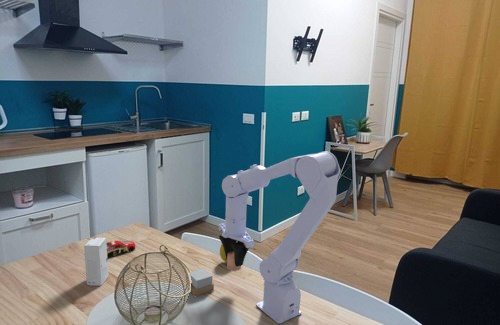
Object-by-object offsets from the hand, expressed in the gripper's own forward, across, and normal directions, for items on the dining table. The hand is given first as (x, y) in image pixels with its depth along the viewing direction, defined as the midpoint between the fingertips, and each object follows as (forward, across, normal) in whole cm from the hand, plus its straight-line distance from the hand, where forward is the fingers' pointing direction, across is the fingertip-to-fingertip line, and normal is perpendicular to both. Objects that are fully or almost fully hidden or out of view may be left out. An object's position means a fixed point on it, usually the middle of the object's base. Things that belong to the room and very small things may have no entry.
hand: (234, 262), depth 104 cm
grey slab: (+6, -5, -8) cm, 11 cm away
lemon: (+8, -14, +7) cm, 17 cm away
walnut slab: (+9, -5, -8) cm, 13 cm away
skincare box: (+8, -25, -31) cm, 40 cm away
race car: (+8, -40, -21) cm, 46 cm away
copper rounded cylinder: (+2, 0, 0) cm, 2 cm away
